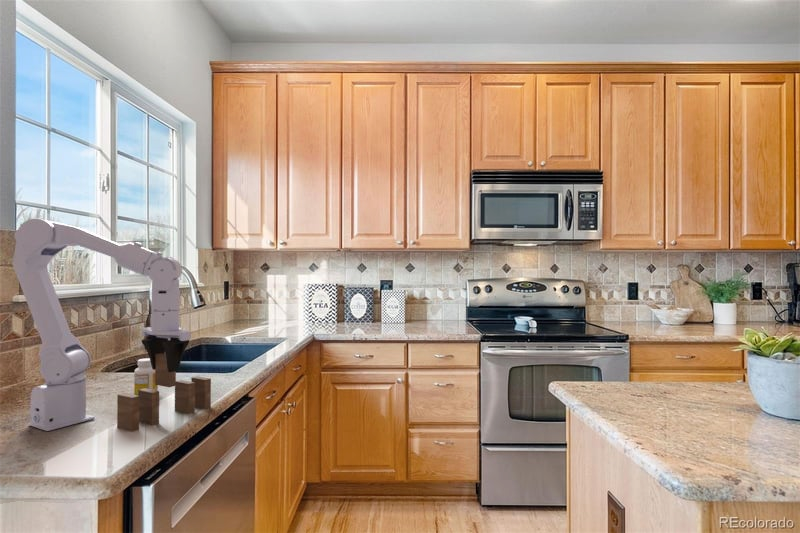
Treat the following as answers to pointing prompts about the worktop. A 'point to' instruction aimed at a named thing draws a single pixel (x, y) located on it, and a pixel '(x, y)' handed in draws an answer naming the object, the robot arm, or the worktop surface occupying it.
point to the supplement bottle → (144, 376)
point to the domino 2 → (148, 406)
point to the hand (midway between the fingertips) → (165, 370)
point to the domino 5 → (202, 392)
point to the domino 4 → (185, 397)
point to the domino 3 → (163, 372)
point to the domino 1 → (128, 412)
